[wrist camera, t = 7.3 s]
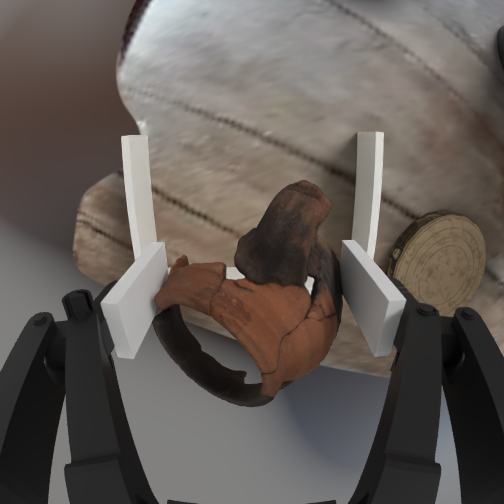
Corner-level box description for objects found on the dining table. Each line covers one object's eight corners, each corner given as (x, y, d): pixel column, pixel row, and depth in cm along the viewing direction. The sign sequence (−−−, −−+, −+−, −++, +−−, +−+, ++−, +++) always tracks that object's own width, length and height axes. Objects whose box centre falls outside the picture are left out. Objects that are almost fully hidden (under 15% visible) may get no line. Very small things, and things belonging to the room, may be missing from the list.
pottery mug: (324, 344, 20) (272, 438, 14) (216, 284, 23) (141, 351, 17) (403, 193, 13) (387, 286, 6) (240, 130, 16) (120, 163, 9)
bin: (364, 132, 27) (383, 132, 23) (354, 271, 33) (367, 291, 29) (140, 136, 28) (121, 136, 23) (155, 273, 33) (141, 294, 29)
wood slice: (487, 227, 31) (500, 234, 28) (445, 321, 37) (454, 332, 34) (409, 192, 30) (422, 198, 27) (364, 309, 36) (372, 322, 33)
